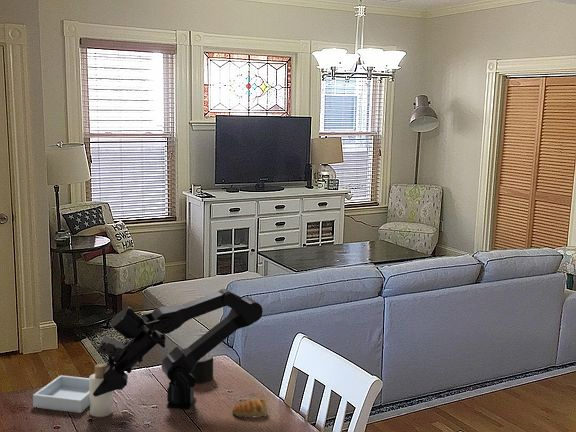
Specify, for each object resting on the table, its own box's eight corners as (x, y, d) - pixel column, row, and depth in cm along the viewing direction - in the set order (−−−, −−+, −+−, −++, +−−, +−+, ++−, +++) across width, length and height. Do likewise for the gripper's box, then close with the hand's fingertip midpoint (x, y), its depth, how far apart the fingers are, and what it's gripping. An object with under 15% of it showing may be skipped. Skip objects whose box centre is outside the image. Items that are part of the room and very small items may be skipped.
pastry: (234, 421, 172) (235, 407, 172) (230, 410, 179) (230, 396, 178) (269, 417, 175) (269, 404, 174) (263, 406, 181) (263, 393, 181)
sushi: (179, 378, 198) (179, 354, 197) (199, 370, 205) (199, 346, 203) (198, 386, 193) (198, 360, 192) (218, 377, 200) (218, 352, 199)
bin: (105, 391, 188) (104, 380, 187) (80, 412, 174) (80, 400, 174) (60, 386, 190) (60, 375, 190) (33, 407, 177) (32, 395, 176)
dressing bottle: (116, 408, 178) (116, 362, 176) (106, 418, 172) (105, 371, 170) (96, 405, 179) (95, 360, 177) (85, 415, 173) (84, 369, 171)
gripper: (119, 316, 181) (79, 355, 181) (112, 339, 163) (67, 382, 163) (148, 343, 184) (108, 381, 184) (144, 368, 166) (100, 411, 165)
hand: (96, 388), depth 174 cm, fingers open, 9 cm apart
